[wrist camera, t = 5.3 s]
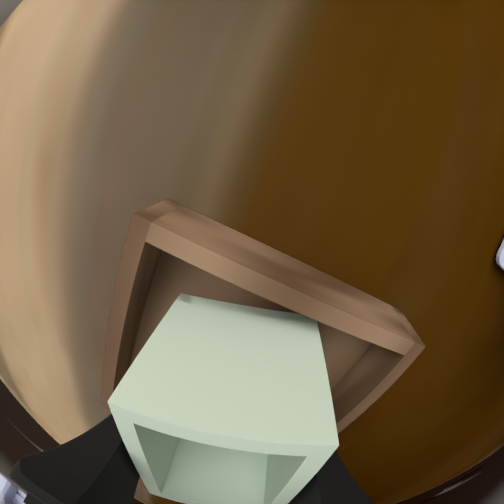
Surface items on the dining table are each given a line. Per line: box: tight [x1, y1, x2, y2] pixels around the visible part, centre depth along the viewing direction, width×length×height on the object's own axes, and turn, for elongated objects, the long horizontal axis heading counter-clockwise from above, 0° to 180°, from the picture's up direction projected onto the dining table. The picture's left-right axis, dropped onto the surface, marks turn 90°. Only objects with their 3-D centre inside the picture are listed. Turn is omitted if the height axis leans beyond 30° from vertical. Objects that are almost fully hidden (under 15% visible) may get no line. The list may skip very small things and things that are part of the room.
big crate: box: [101, 199, 425, 434], centre depth 12 cm, size 12×12×3 cm
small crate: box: [107, 293, 339, 504], centre depth 9 cm, size 6×8×6 cm
